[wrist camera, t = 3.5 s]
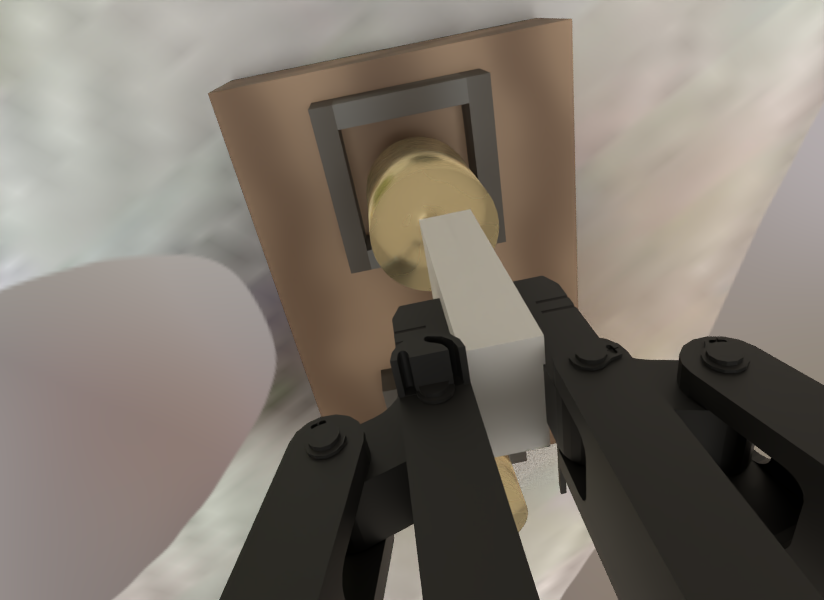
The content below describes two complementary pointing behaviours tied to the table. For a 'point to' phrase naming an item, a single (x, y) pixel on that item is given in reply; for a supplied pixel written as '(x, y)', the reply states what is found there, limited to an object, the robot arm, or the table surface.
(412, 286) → the knob
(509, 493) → the knob
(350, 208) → the mount
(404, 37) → the table surface
